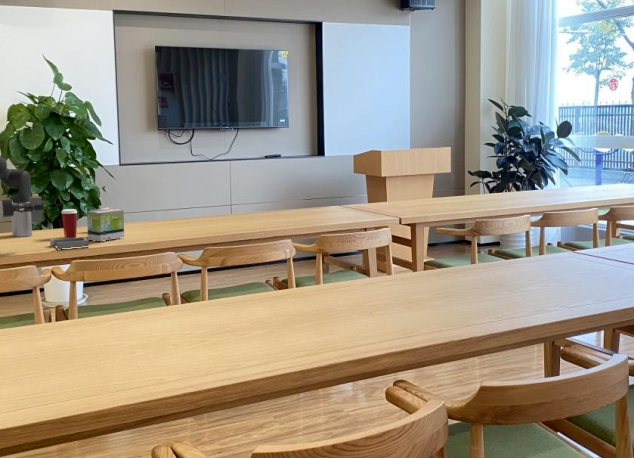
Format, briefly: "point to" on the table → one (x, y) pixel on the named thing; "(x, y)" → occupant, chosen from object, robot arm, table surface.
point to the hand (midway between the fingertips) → (42, 206)
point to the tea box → (105, 224)
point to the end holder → (71, 242)
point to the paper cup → (69, 222)
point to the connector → (36, 214)
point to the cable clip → (52, 242)
